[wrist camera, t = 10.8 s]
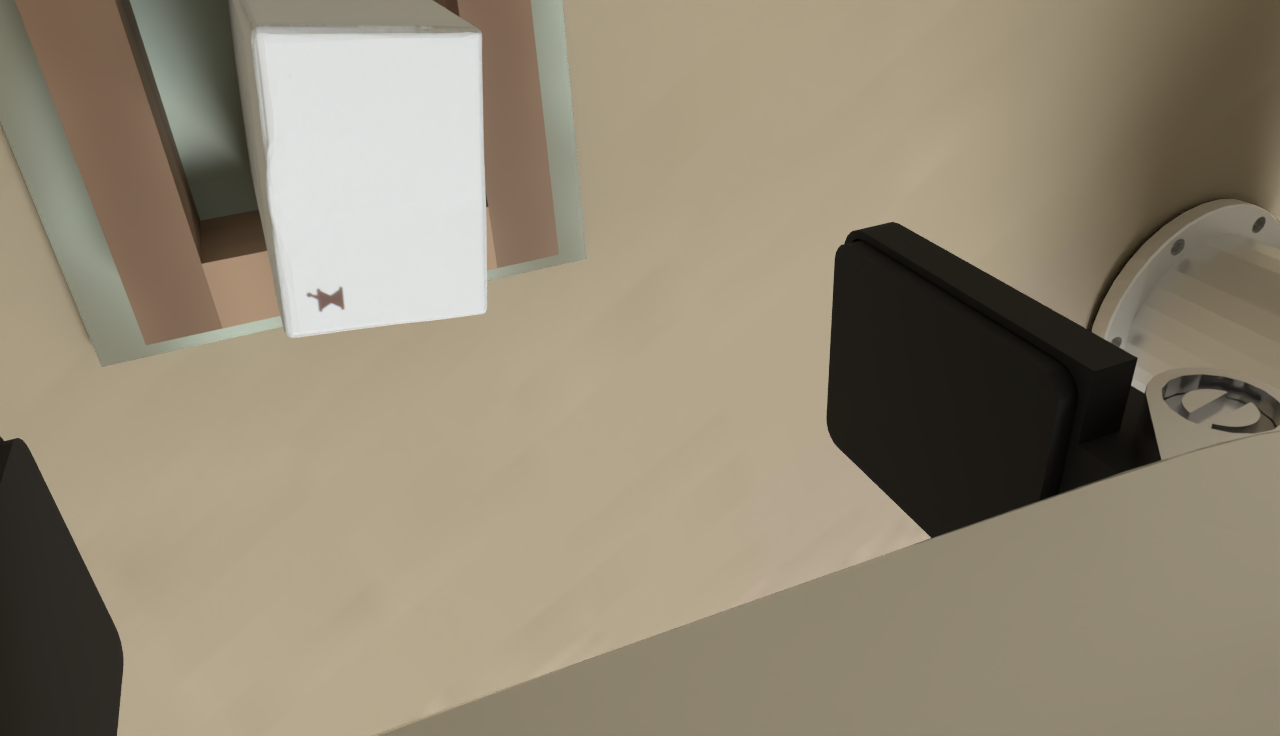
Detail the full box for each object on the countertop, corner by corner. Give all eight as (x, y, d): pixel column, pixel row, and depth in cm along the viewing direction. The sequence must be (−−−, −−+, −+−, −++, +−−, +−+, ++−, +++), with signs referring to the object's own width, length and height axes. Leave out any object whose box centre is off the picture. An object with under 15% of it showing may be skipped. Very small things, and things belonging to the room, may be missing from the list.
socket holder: (525, -274, 26) (578, -291, 23) (577, 248, 35) (622, 297, 31) (-142, -247, 22) (-207, -262, 18) (104, 352, 30) (92, 424, 26)
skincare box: (394, 164, 30) (491, 325, 20) (248, 171, 28) (279, 348, 19) (382, -45, 27) (489, 26, 17) (220, -51, 25) (238, 25, 16)
